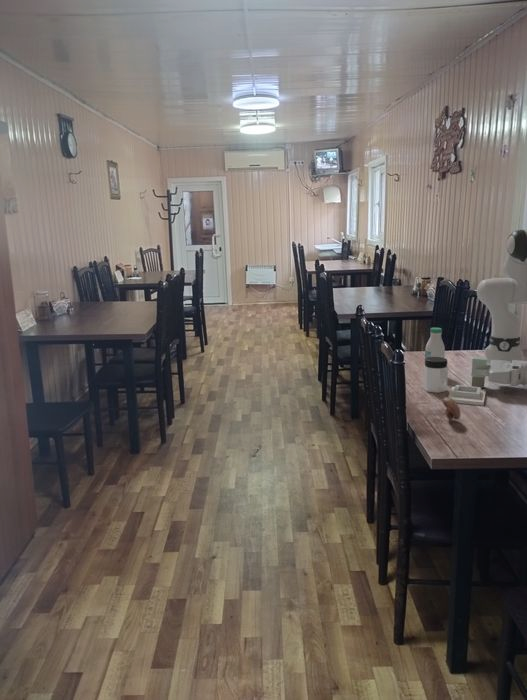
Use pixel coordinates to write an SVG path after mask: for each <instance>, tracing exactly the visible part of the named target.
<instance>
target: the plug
mask: <svg viewBox="0 0 527 700" xmlns="http://www.w3.org/2000/svg"><path fill="white" fill-rule="evenodd" d="M471 363H472V364H471V374H470V376H471V386H473V387H481V389H482V388H483V389H484V388H485V382H486V381H485V380H486V377H487V376H485V375H482V374H476V369H477V368H479V369H483V370H487V369H486V368H487V357H485V356H481V355H473V356H472V362H471Z"/></svg>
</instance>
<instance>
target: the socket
mask: <svg viewBox="0 0 527 700" xmlns="http://www.w3.org/2000/svg"><path fill="white" fill-rule="evenodd" d="M486 392H487V389H484V388H483V389H482V387H473V386H472V385H462V384H461V385H460V384H455V386H451V389H450V390H449V393H448V396H447V397H449V398H452V399H453V400H454V401H455V402H456V404H463V405H464V404H465V405H474V406H484V404H485V399H486V394H487V393H486Z"/></svg>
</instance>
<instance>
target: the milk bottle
mask: <svg viewBox="0 0 527 700" xmlns="http://www.w3.org/2000/svg"><path fill="white" fill-rule="evenodd" d="M429 331H430V333H429V334H430V335H429V336H430V337H429V339H428V341H427V343H426V345H425V349H424V350H425V351H424V352H425V353H424V359H425V358H427V357H442V358H445V354H446V353H445V351H446V349H445V344H444V342H443V339H442V334H443V328H441V327H430V330H429Z"/></svg>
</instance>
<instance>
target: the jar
mask: <svg viewBox="0 0 527 700" xmlns="http://www.w3.org/2000/svg"><path fill="white" fill-rule="evenodd" d="M422 371H423V372H422V373H423V376H422V389H423V390H424V391H426V392H427V393H436V394H440V393H443V392H447V390H448V389H447V388H448V373H449V367H448V358H446V357H444V358H442V357H427V358H425V357H424V365H423V370H422Z"/></svg>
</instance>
